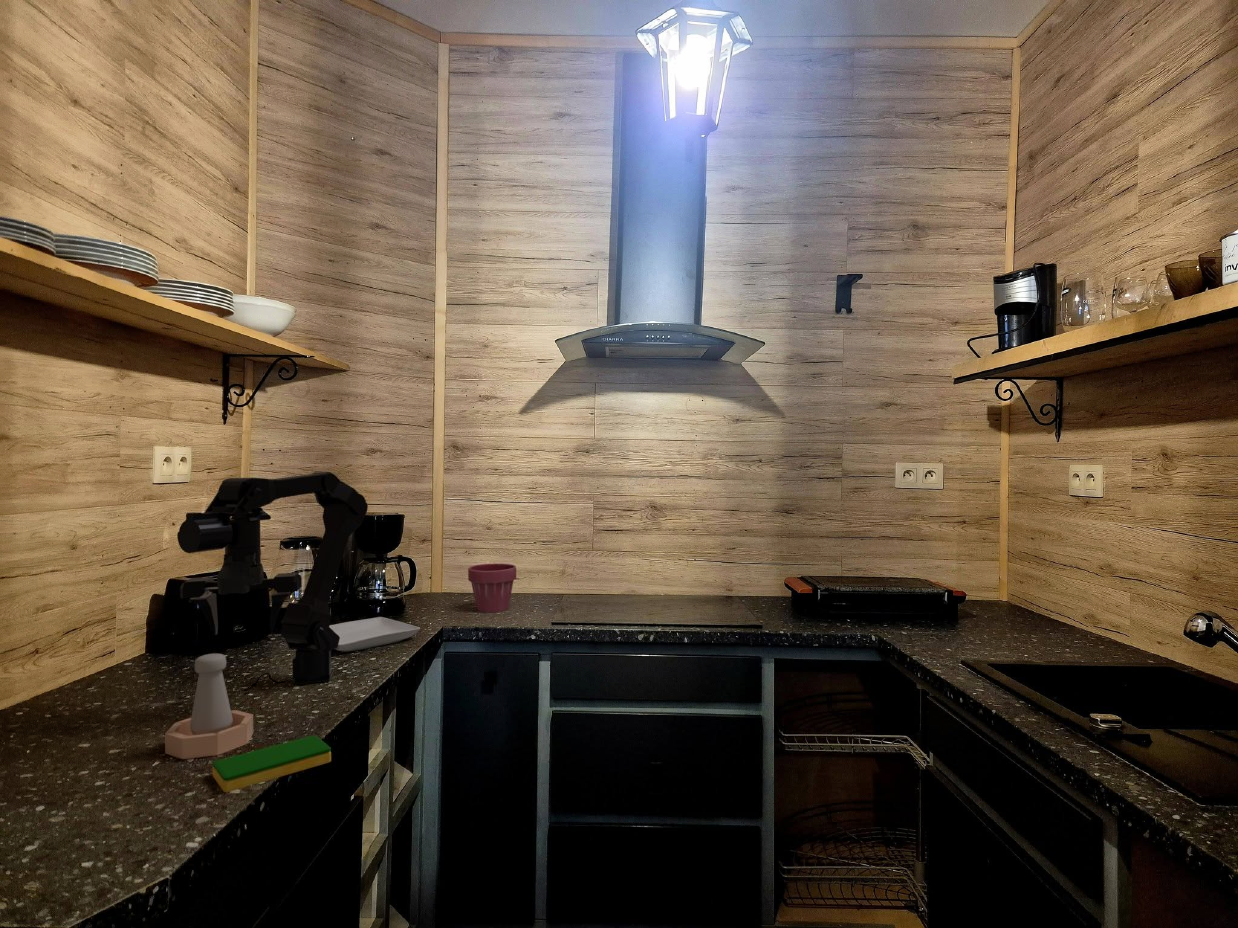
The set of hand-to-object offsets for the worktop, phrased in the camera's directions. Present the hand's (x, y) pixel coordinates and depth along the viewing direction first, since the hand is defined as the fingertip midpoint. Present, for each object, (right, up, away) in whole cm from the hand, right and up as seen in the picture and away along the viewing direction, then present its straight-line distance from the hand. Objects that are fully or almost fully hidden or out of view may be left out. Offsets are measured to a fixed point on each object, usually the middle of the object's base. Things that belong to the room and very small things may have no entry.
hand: (243, 632), depth 125 cm
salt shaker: (+4, -13, -17) cm, 22 cm away
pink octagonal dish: (+4, -13, -17) cm, 22 cm away
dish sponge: (+19, -13, -27) cm, 35 cm away
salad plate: (+4, -14, +45) cm, 47 cm away
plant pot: (+30, -13, +80) cm, 87 cm away
